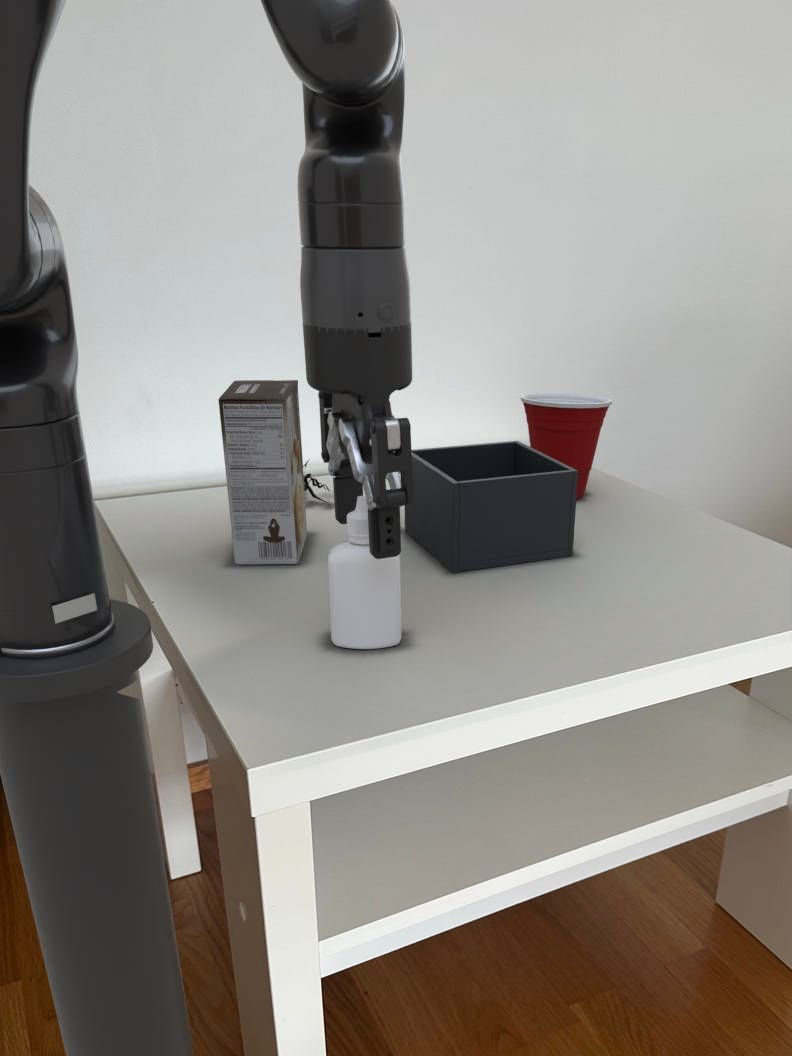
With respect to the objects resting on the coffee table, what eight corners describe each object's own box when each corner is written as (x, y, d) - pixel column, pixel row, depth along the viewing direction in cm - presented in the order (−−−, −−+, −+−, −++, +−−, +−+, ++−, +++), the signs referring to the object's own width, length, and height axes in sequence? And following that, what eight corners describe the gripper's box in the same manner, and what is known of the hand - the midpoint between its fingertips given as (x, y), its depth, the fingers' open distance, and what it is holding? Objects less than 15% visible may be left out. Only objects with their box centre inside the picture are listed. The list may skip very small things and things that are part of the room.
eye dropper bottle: (351, 624, 78) (345, 485, 73) (410, 637, 76) (408, 495, 71) (322, 644, 75) (314, 499, 70) (383, 658, 73) (379, 510, 68)
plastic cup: (607, 485, 118) (615, 389, 113) (602, 510, 109) (610, 406, 104) (522, 479, 120) (526, 384, 115) (509, 503, 110) (513, 400, 105)
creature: (307, 497, 114) (250, 495, 109) (313, 453, 113) (255, 449, 107) (345, 513, 109) (287, 511, 104) (352, 467, 108) (293, 462, 102)
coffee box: (247, 534, 98) (232, 378, 91) (308, 534, 99) (299, 379, 92) (233, 566, 90) (216, 396, 83) (300, 565, 91) (289, 397, 84)
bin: (452, 573, 90) (453, 483, 86) (404, 531, 100) (403, 450, 97) (572, 555, 95) (578, 470, 91) (514, 518, 106) (517, 440, 102)
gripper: (278, 308, 69) (295, 518, 76) (334, 332, 58) (348, 577, 65) (374, 304, 72) (382, 507, 79) (446, 326, 61) (448, 561, 68)
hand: (367, 538), depth 72 cm, fingers open, 8 cm apart
